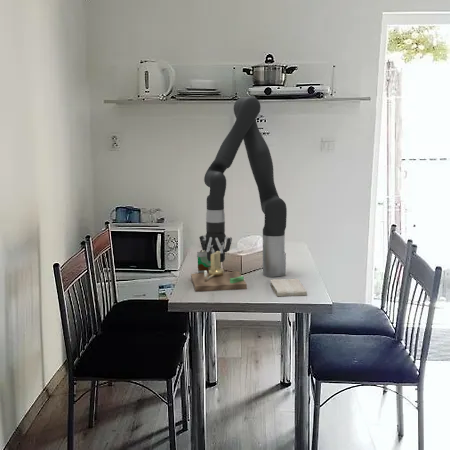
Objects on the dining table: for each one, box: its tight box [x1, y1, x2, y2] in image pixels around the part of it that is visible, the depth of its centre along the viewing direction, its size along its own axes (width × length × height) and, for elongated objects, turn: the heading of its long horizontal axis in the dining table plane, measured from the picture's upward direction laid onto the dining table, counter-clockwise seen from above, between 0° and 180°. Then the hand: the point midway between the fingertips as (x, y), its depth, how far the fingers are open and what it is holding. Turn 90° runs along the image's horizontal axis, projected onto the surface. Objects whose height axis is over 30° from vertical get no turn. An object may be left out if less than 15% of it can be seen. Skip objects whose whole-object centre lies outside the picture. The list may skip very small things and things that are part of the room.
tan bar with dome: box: [204, 251, 224, 281], centre depth 247 cm, size 15×6×9 cm, turn 158°
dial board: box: [190, 271, 248, 292], centre depth 246 cm, size 20×19×4 cm
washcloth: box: [270, 278, 308, 297], centre depth 237 cm, size 12×18×3 cm, turn 6°
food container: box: [196, 248, 214, 274], centre depth 263 cm, size 12×6×10 cm, turn 168°
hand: (215, 261), depth 250 cm, fingers open, 4 cm apart
